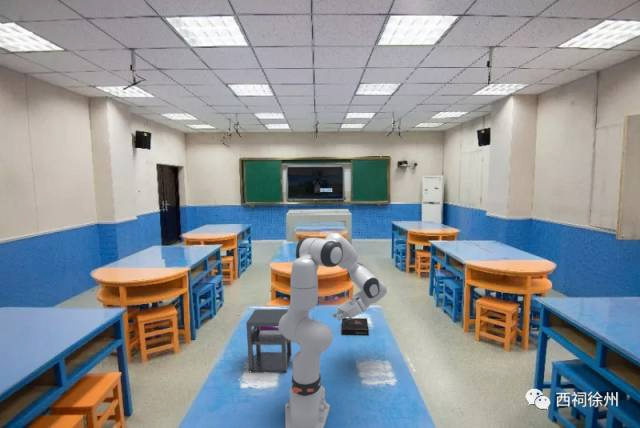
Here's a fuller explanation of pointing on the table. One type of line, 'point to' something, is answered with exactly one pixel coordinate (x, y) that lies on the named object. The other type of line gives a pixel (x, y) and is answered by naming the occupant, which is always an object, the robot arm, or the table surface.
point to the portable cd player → (355, 326)
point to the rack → (267, 342)
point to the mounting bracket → (269, 329)
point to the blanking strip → (269, 334)
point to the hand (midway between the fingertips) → (335, 317)
